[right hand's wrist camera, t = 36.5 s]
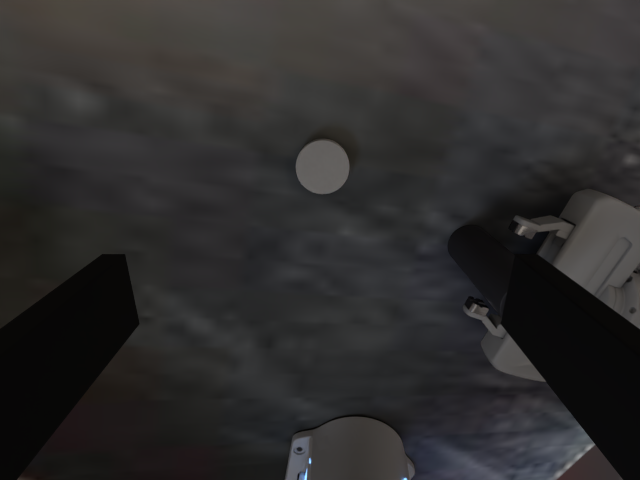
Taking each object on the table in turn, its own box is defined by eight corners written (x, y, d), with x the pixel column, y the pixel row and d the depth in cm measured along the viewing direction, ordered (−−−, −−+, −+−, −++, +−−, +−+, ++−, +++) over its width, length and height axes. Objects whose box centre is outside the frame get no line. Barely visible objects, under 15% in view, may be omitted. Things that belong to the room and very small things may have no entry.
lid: (339, 196, 41) (340, 200, 39) (291, 182, 40) (289, 185, 38) (355, 147, 39) (356, 149, 37) (304, 131, 38) (303, 133, 37)
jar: (440, 253, 43) (497, 328, 29) (460, 219, 41) (531, 280, 28) (474, 267, 44) (546, 348, 30) (496, 233, 42) (582, 301, 28)
